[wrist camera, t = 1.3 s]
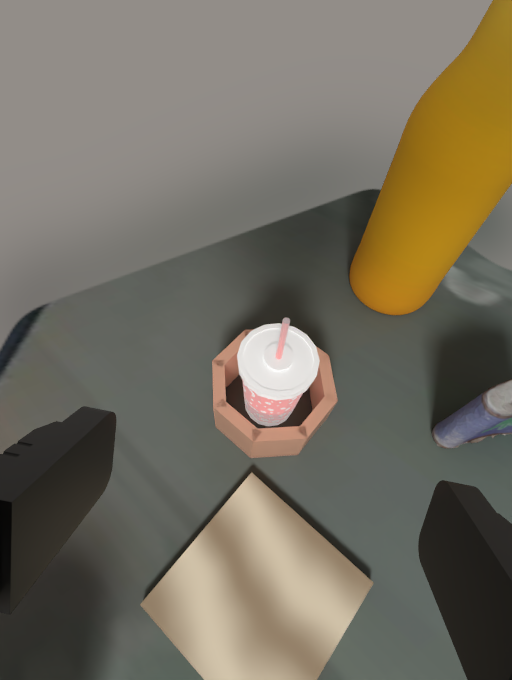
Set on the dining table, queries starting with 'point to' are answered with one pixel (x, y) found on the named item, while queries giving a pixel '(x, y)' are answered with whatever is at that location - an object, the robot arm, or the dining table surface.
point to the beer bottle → (442, 174)
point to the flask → (478, 418)
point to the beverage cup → (276, 370)
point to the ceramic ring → (269, 439)
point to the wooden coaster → (258, 593)
